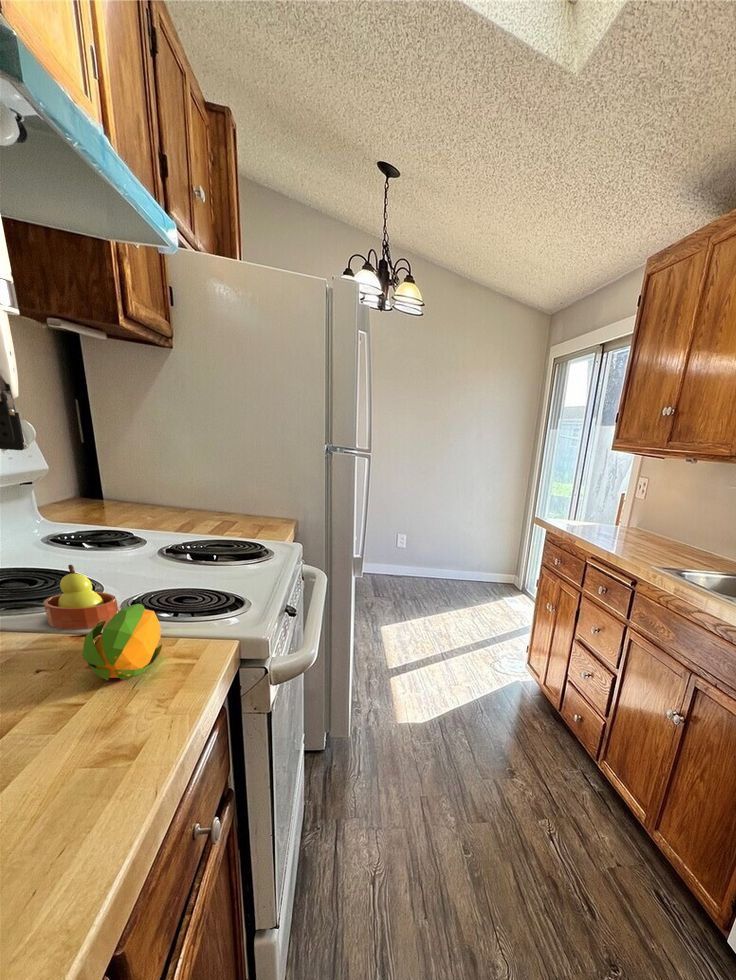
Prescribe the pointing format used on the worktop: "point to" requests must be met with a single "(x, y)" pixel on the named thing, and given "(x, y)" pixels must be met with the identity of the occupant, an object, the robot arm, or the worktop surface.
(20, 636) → the worktop surface
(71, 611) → the bowl
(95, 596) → the pear
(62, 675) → the worktop surface
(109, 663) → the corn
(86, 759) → the worktop surface
